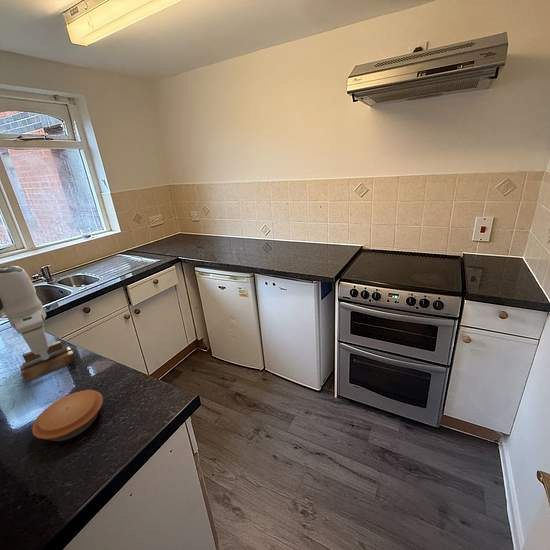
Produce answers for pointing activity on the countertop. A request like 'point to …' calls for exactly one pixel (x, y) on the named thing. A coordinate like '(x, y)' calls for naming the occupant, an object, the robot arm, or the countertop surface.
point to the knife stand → (47, 366)
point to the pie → (68, 416)
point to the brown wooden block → (33, 359)
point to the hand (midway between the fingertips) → (44, 353)
